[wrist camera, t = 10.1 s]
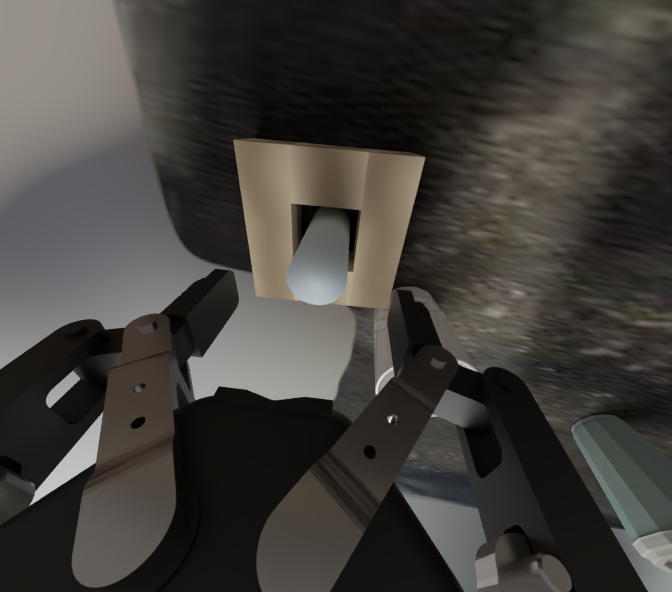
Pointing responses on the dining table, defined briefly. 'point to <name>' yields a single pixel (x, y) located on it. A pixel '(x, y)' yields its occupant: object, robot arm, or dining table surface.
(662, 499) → the disposable coffee cup
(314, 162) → the hole block
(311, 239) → the long dowel
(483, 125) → the dining table surface
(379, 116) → the dining table surface
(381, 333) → the white cup
